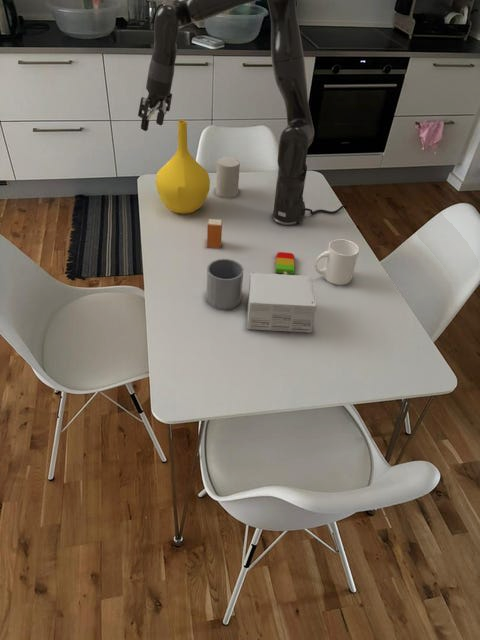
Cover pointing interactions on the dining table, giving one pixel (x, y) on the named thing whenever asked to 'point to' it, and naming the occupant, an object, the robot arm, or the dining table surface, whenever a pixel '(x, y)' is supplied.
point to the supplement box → (281, 302)
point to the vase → (182, 178)
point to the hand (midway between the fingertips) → (151, 127)
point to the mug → (339, 261)
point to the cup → (227, 177)
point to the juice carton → (214, 233)
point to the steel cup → (224, 283)
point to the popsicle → (285, 263)
